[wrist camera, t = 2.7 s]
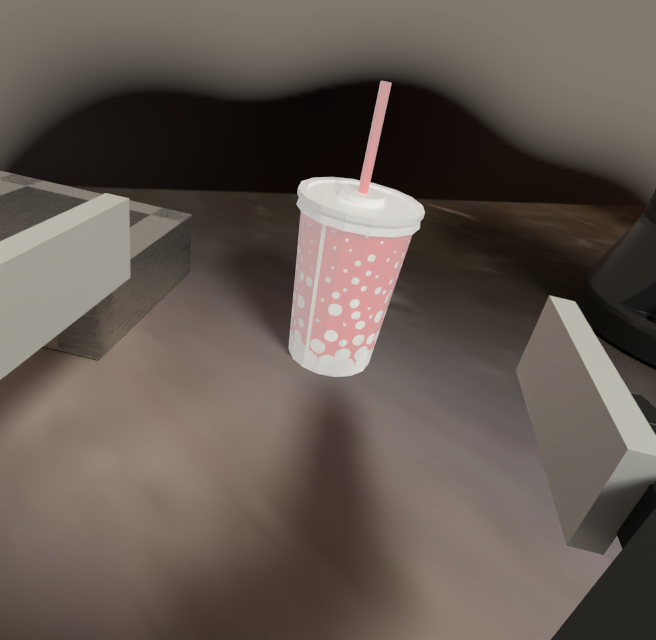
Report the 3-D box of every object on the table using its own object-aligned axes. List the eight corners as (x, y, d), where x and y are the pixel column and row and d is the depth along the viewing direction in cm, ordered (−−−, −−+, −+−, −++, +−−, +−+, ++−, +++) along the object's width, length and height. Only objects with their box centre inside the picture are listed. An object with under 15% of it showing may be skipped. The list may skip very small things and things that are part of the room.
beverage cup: (402, 357, 29) (479, 99, 22) (339, 402, 25) (411, 96, 18) (321, 313, 32) (367, 71, 25) (251, 345, 28) (285, 63, 21)
